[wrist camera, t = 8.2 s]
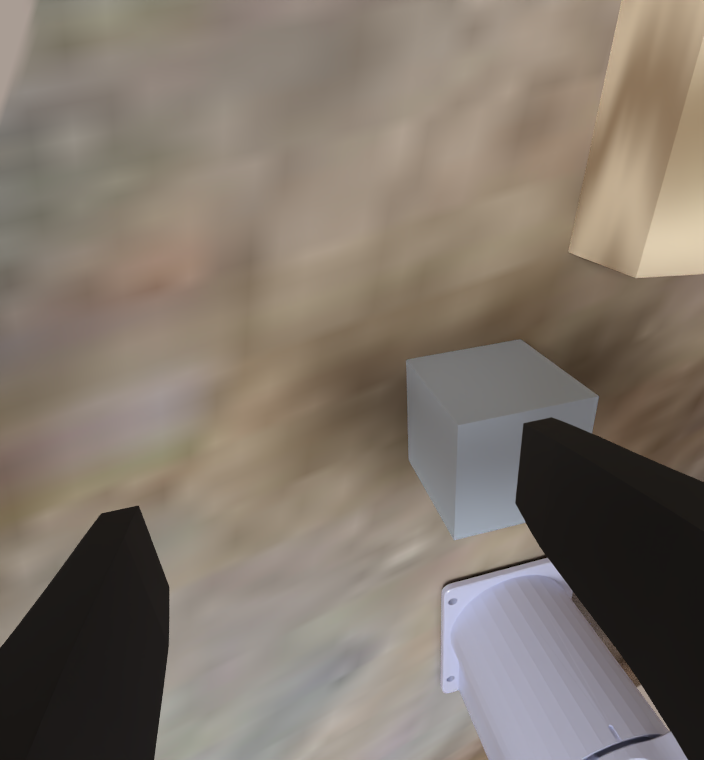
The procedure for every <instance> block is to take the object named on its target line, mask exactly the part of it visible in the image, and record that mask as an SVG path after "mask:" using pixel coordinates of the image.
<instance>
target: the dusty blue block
mask: <svg viewBox="0 0 704 760" xmlns="http://www.w3.org/2000/svg"><path fill="white" fill-rule="evenodd" d="M406 373H407V413H408V453H409V461H410V463H411V465H412V467H413V468H414V470H415V472H416V474H417V476H418V477H419V479H420V481H421V483H422V484H423V486H424V488H425V490H426V491H427V493H428V495H429V497H430V499H431V500H432V502H433V504H434V506H435V507H436V509H437V511H438V513H439V514H440V516H441V518H442V520H443V522H444V523H445V525H446V527H447V529H448V530H449V532H450V534H451V536H452V537H453V539H454V540H457V539H461V538H465V537H469V536H473V535H477V534H481V533H486V532H490V531H494V530H498V529H502V528H506V527H510V526H514V525H518V524H522V523H526V522H525V520H524V518H523V516H522V515H521V513H520V511H519V509H518V507H517V506H516V504H515V500H516V490H517V480H518V470H519V461H520V451H521V441H522V432H523V423H527V422H532V421H536V420H541V419H546V418H550V417H552V418H555V419H558V420H561V421H563V422H566V423H568V424H571V425H573V426H576V427H578V428H580V429H583V430H585V431H587V432H589V433H592V431H593V425H594V420H595V415H596V410H597V404H598V399H599V396H598V395H597V394H595V393H594V392H593V391H591V390H590V389H588V388H587V387H586V386H584V385H583V384H582V383H580V382H579V381H577V380H576V379H575V378H573V377H572V376H571V375H569V374H568V373H566V372H565V371H564V370H562V369H561V368H560V367H558V366H557V365H555V364H554V363H553V362H551V361H550V360H549V359H547V358H546V357H544V356H543V355H542V354H540V353H539V352H538V351H536V350H535V349H533V348H532V347H531V346H529V345H528V344H527V343H525V342H524V341H523V340H521V339H519V340H513V341H508V342H502V343H496V344H491V345H485V346H480V347H474V348H468V349H463V350H457V351H452V352H446V353H440V354H435V355H429V356H424V357H418V358H412V359H407V360H406Z"/></svg>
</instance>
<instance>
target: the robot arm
mask: <svg viewBox="0 0 704 760" xmlns="http://www.w3.org/2000/svg"><path fill="white" fill-rule="evenodd" d="M515 504H516V506H517V507H518V509H519V511H520V513H521V515H522V516H523V518H524V520H525V522H526V524H527V526H528V527H529V529H530V531H531V532H532V534H533V536H534V538H535V539H536V541H537V543H538V544H539V546H540V548H541V549H542V550H543V552H544V553H545V555H546V556H547V557H548V558H544V559H540V560H537V561H533V562H529V563H525V564H522V565H518V566H514V567H510V568H507V569H503V570H499V571H495V572H492V573H488V574H484V575H480V576H477V577H473V578H469V579H465V580H462V581H458V582H454V583H450V584H448V585H446V586H445V587H444V588H443V589H442V599H441V688H442V690H443V692H444V693H451V692H455V691H458V690H459V691H460V693H461V696H462V698H463V701H464V703H465V705H466V708H467V710H468V712H469V715H470V717H471V719H472V722H473V724H474V726H475V729H476V731H477V733H478V736H479V738H480V740H481V743H482V745H483V748H484V750H485V752H486V755H487V757H488V759H489V760H704V482H702V481H700V480H697V479H695V478H692V477H690V476H687V475H685V474H683V473H680V472H678V471H676V470H673V469H671V468H669V467H666V466H664V465H662V464H659V463H657V462H655V461H652V460H650V459H648V458H646V457H643V456H641V455H639V454H637V453H634V452H632V451H630V450H628V449H625V448H623V447H621V446H619V445H616V444H614V443H612V442H610V441H607V440H605V439H603V438H601V437H599V436H596V435H594V434H592V433H589V432H587V431H585V430H583V429H580V428H578V427H576V426H573V425H571V424H568V423H566V422H563V421H561V420H558V419H555V418H552V417H550V418H546V419H541V420H536V421H532V422H527V423H523V432H522V441H521V451H520V461H519V470H518V480H517V490H516V500H515ZM573 592H574V593H575V595H576V596H577V597H578V599H579V600H580V601H581V603H582V604H583V605H584V606H585V608H586V609H587V610H588V612H589V613H590V614H591V616H592V617H593V618H594V620H595V621H596V622H597V624H598V625H599V626H600V628H601V629H602V630H603V631H604V633H605V634H606V635H607V637H608V638H609V639H610V641H611V642H612V643H613V645H614V646H615V647H616V649H617V650H618V651H619V653H620V654H621V655H622V657H623V658H624V660H625V661H626V663H627V664H628V665H629V667H630V668H631V670H632V671H633V673H634V674H635V675H636V677H637V678H638V680H639V682H640V683H641V685H642V686H643V688H644V689H645V691H646V693H647V694H648V696H649V697H650V699H651V701H652V702H653V704H654V705H655V707H656V709H657V710H658V712H659V713H660V715H661V717H662V718H663V720H664V721H665V723H666V724H667V726H668V728H669V729H670V731H668V729H667V728H666V727H665V726H664V725H663V723H662V721H661V720H660V719H659V717H658V716H657V715H656V713H655V712H654V711H653V709H652V708H651V706H650V705H649V704H648V702H647V701H646V700H645V698H644V697H643V696H642V694H641V693H640V692H639V690H638V689H637V688H636V686H635V685H634V683H633V682H632V681H631V679H630V678H629V677H628V675H627V674H626V673H625V671H624V670H623V669H622V667H621V666H620V665H619V663H618V662H617V660H616V659H615V658H614V656H613V655H612V654H611V652H610V651H609V650H608V648H607V647H606V646H605V644H604V643H603V642H602V640H601V639H600V637H599V636H598V635H597V633H596V632H595V631H594V629H593V628H592V627H591V625H590V624H589V623H588V621H587V620H586V618H585V617H584V616H583V614H582V613H581V612H580V610H579V609H578V608H577V606H576V605H575V604H574V602H573V601H572V600H571V599H572V594H573ZM168 647H169V585H168V582H167V580H166V577H165V574H164V572H163V569H162V566H161V564H160V561H159V558H158V556H157V553H156V550H155V548H154V545H153V542H152V540H151V537H150V534H149V532H148V529H147V526H146V524H145V521H144V518H143V516H142V513H141V510H140V508H139V506H134V507H130V508H125V509H120V510H116V511H111V512H106V513H102V514H101V515H100V516H99V517H98V519H97V520H96V521H95V523H94V524H93V525H92V526H91V528H90V529H89V530H88V532H87V533H86V534H85V536H84V537H83V539H82V540H81V541H80V543H79V544H78V545H77V547H76V548H75V550H74V551H73V552H72V554H71V555H70V556H69V558H68V559H67V561H66V562H65V563H64V565H63V566H62V567H61V569H60V570H59V572H58V573H57V574H56V576H55V577H54V578H53V580H52V581H51V582H50V584H49V585H48V586H47V588H46V589H45V590H44V592H43V593H42V594H41V596H40V597H39V598H38V600H37V601H36V602H35V604H34V605H33V606H32V608H31V609H30V610H29V612H28V613H27V614H26V615H25V617H24V618H23V619H22V621H21V622H20V623H19V625H18V626H17V627H16V629H15V630H14V631H13V633H12V634H11V635H10V636H9V638H8V639H7V640H6V641H5V643H4V644H3V645H2V646H1V648H0V760H154V755H155V748H156V740H157V733H158V725H159V718H160V710H161V703H162V695H163V687H164V679H165V671H166V663H167V655H168Z"/></svg>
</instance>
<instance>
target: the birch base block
mask: <svg viewBox="0 0 704 760" xmlns="http://www.w3.org/2000/svg"><path fill="white" fill-rule="evenodd" d="M568 252H569V253H571V254H574V255H577V256H579V257H582V258H584V259H587V260H590V261H592V262H595V263H598V264H600V265H603V266H605V267H608V268H611V269H613V270H616V271H619V272H621V273H624V274H626V275H629V276H632V277H634V278H646V277H662V276H678V275H694V274H704V0H622V1H621V6H620V11H619V15H618V20H617V25H616V30H615V34H614V39H613V44H612V48H611V53H610V58H609V63H608V67H607V72H606V77H605V81H604V86H603V91H602V96H601V100H600V105H599V110H598V114H597V119H596V124H595V129H594V133H593V138H592V143H591V147H590V152H589V157H588V161H587V166H586V171H585V176H584V180H583V185H582V190H581V194H580V199H579V204H578V209H577V213H576V218H575V223H574V227H573V232H572V237H571V242H570V246H569V251H568Z"/></svg>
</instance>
